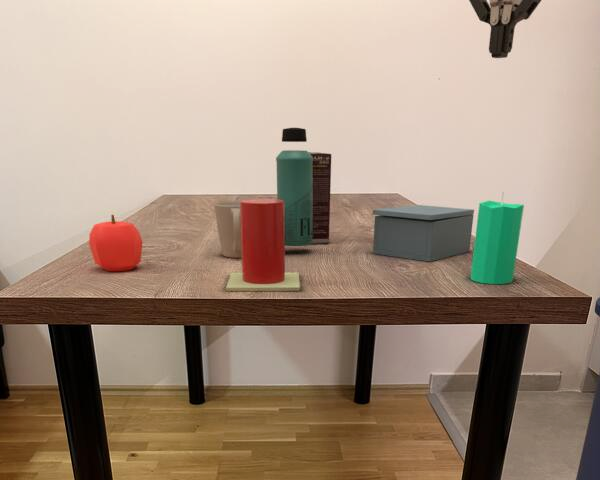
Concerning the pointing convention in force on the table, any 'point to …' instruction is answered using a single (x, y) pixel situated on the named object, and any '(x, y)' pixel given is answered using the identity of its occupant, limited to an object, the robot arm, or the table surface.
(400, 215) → the lid
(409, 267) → the table surface
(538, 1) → the robot arm
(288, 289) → the mat
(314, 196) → the supplement box
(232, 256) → the cup
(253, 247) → the red cylinder
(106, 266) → the apple
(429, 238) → the chest
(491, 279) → the candle
